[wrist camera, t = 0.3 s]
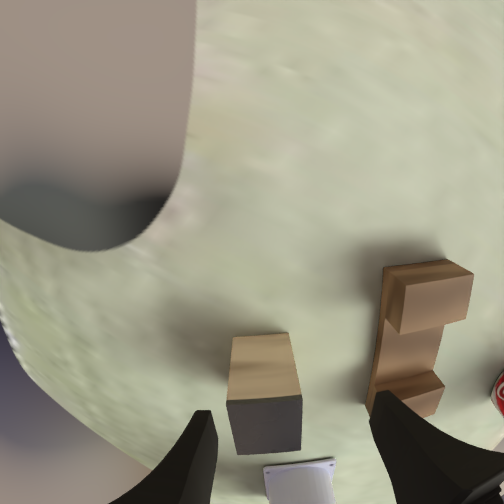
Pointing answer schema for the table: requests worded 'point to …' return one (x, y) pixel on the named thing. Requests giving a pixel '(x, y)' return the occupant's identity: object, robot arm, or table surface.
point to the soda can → (499, 394)
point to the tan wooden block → (264, 395)
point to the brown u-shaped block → (416, 330)
